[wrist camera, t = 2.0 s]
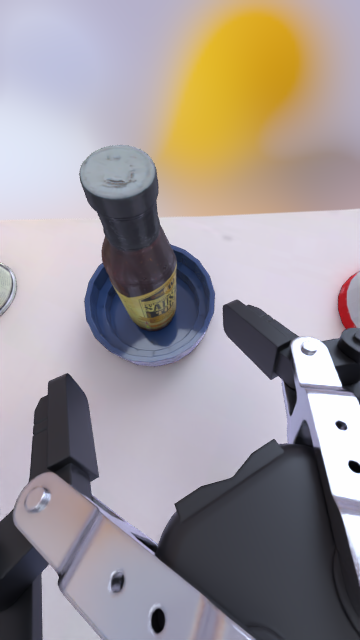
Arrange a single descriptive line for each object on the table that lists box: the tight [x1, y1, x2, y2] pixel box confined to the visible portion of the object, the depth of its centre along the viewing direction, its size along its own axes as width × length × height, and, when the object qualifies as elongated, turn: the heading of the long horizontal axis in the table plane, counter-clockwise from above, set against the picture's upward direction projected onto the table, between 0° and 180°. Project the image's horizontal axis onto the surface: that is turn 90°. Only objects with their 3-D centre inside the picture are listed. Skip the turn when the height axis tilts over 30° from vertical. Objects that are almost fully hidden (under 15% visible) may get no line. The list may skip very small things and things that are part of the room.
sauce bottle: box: [79, 145, 177, 331], centre depth 21 cm, size 6×6×20 cm
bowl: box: [84, 244, 215, 367], centre depth 28 cm, size 15×15×5 cm
